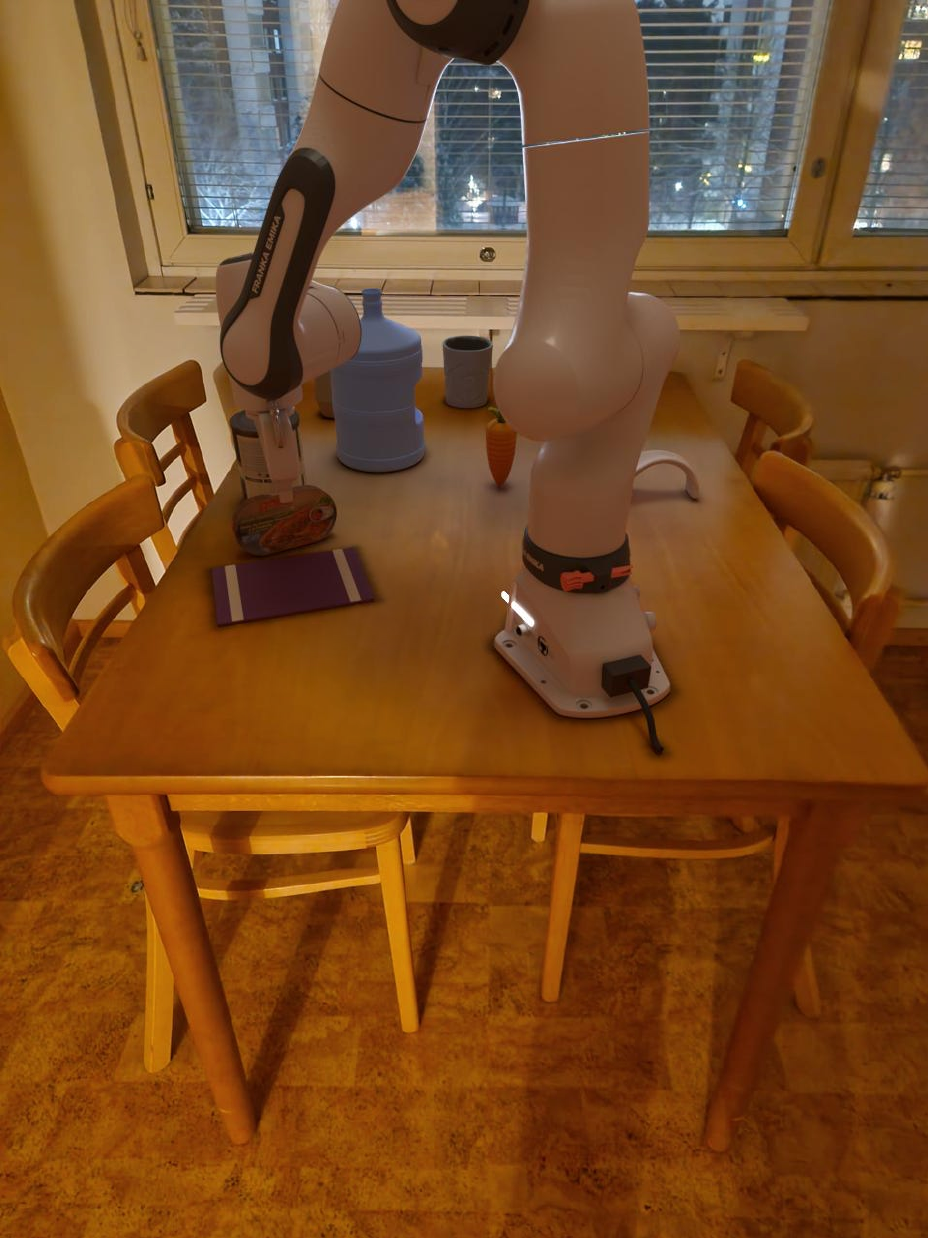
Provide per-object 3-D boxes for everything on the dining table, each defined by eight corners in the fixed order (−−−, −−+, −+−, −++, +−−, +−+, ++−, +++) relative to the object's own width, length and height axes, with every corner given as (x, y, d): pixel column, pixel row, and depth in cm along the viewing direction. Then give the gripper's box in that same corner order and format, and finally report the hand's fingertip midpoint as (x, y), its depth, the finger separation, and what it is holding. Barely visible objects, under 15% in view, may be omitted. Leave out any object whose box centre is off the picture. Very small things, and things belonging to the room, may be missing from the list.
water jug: (371, 482, 135) (359, 308, 119) (320, 454, 145) (302, 289, 129) (443, 457, 144) (440, 291, 128) (390, 432, 153) (381, 275, 137)
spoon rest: (555, 513, 126) (558, 471, 122) (545, 481, 136) (547, 440, 132) (704, 510, 127) (713, 467, 123) (684, 478, 137) (690, 438, 133)
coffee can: (231, 502, 129) (215, 417, 121) (285, 482, 135) (274, 400, 127) (267, 523, 123) (253, 436, 115) (322, 502, 129) (312, 417, 121)
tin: (240, 562, 114) (230, 508, 109) (234, 552, 116) (224, 499, 111) (340, 536, 120) (335, 484, 115) (332, 527, 122) (327, 476, 117)
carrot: (512, 494, 132) (515, 405, 123) (482, 491, 132) (483, 402, 124) (516, 481, 136) (520, 394, 127) (487, 478, 136) (489, 391, 128)
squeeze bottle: (365, 411, 162) (359, 318, 152) (339, 423, 157) (331, 328, 146) (334, 403, 166) (325, 312, 156) (307, 415, 160) (297, 322, 150)
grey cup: (461, 389, 173) (462, 332, 166) (501, 399, 168) (503, 340, 161) (433, 403, 166) (431, 343, 159) (473, 413, 161) (473, 353, 154)
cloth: (374, 600, 106) (374, 597, 106) (218, 626, 101) (217, 623, 101) (354, 549, 117) (354, 546, 117) (212, 570, 112) (211, 567, 112)
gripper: (302, 411, 97) (316, 515, 105) (282, 363, 113) (295, 456, 121) (249, 417, 95) (267, 522, 103) (236, 367, 111) (252, 461, 119)
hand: (282, 486), depth 112 cm, fingers open, 8 cm apart
